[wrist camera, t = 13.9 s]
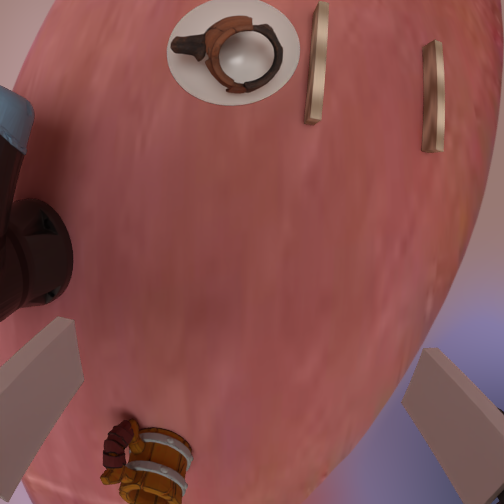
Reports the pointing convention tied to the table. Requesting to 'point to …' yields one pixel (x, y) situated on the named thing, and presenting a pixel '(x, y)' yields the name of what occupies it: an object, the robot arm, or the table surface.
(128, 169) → the table surface
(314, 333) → the table surface
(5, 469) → the robot arm
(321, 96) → the pair of beige bars
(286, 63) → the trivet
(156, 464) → the mug
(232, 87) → the pottery mug
